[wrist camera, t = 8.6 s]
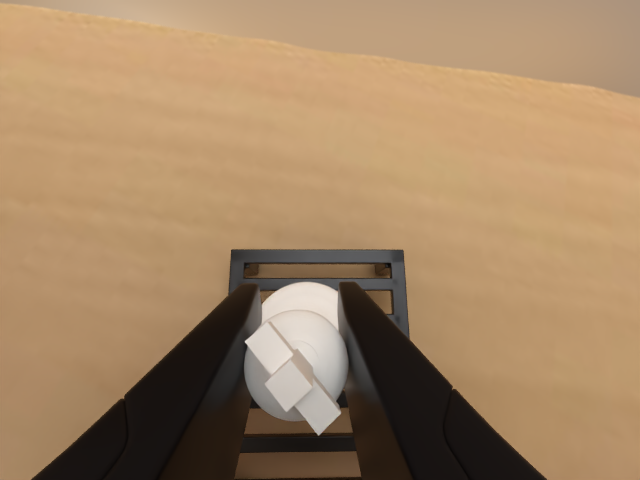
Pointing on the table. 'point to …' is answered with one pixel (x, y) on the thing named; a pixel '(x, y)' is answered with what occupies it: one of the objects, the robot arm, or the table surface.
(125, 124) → the table surface
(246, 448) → the rack
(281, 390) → the chess piece
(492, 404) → the table surface
